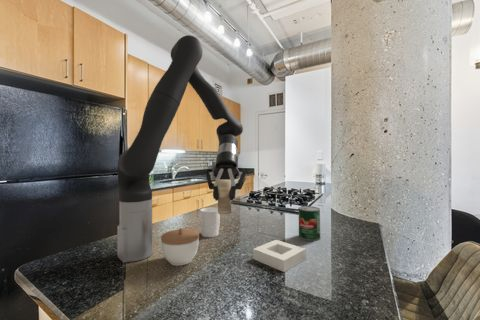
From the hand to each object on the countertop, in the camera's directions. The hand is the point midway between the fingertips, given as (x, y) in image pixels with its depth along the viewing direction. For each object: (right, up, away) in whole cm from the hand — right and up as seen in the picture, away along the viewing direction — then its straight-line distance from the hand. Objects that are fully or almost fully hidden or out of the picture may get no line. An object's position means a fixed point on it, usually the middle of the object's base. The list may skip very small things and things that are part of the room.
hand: (224, 198), depth 66 cm
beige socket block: (+16, -18, 0) cm, 24 cm away
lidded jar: (-13, -18, -1) cm, 22 cm away
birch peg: (0, -5, +2) cm, 5 cm away
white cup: (-7, -18, +23) cm, 30 cm away
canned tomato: (+31, -18, +19) cm, 40 cm away
